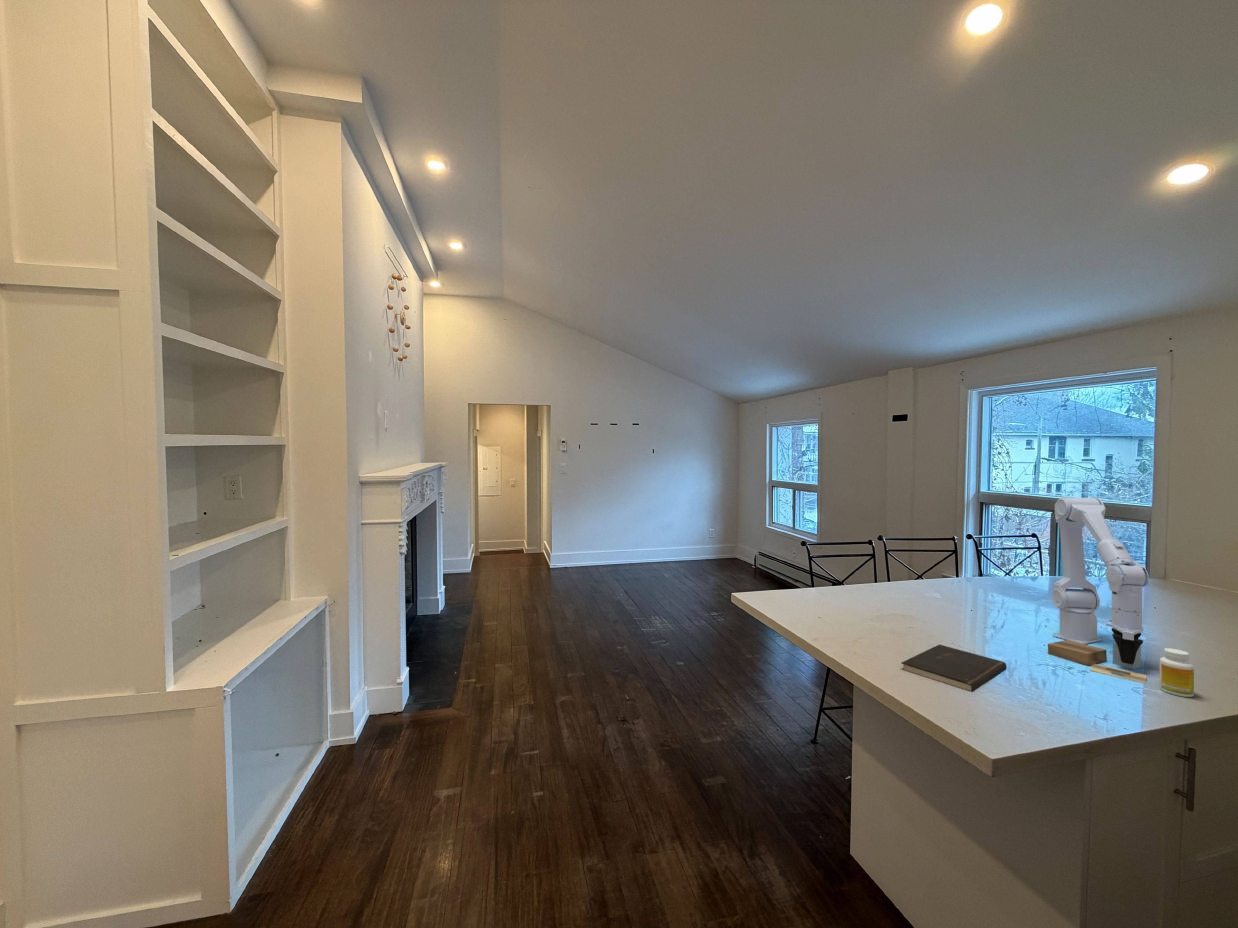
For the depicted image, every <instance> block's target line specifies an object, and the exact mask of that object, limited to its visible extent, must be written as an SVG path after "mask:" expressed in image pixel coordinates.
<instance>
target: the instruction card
mask: <svg viewBox="0 0 1238 928" xmlns="http://www.w3.org/2000/svg"><path fill="white" fill-rule="evenodd" d="M1089 672H1093V673H1096V674H1097V673H1098V674H1101V675H1104V676H1105V675H1107V676H1110V677H1115V678H1119V679H1124V680H1129V681H1133V682H1137V683H1141V684H1145V685H1146V684H1147V676H1148V675H1147V674H1143V673H1138V672H1136V671H1135V672H1134V671H1130V670H1126V669H1125V670H1124V669H1121V668H1116V667H1112V666H1107V665H1103V664H1099V663H1096V664H1091V665H1090V668H1089Z"/></svg>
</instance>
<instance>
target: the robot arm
mask: <svg viewBox="0 0 1238 928" xmlns="http://www.w3.org/2000/svg"><path fill="white" fill-rule="evenodd" d="M1054 515H1055V523H1057V524H1059V531H1060V532H1059V533H1060V534H1059V535H1060V546H1061V556H1062V557H1061V558H1062V562H1061V563H1062V572H1063V573H1062V574H1063V577H1062V578H1060V579H1059V580H1056V581H1055V582H1053V584H1052V585H1053V586H1052V587H1053V588H1052V592H1051V600H1052V602H1053V604H1054V605H1055V606H1056V608H1057V609H1059V633H1055V634H1052V637H1055V638H1058V639H1061V640H1069V641H1073V642H1077V643H1081V644H1085V645H1089V644H1092V643H1096V642H1102V639H1101V638H1098V618H1097V616H1096V614H1095V611H1096V610H1098V609H1099V607H1100V605H1101V600H1100V599H1101V598H1100V596H1099V593H1098V592H1097V591H1098V590H1097V587H1096V585H1094V584H1093V583H1091V582H1090V581H1089V580H1087V576H1086V562H1085V550H1084V548H1085V547H1084V537H1083V536H1084V535H1083V528H1084V527H1086V528H1087V530H1088V531H1089V533H1090V534H1091V535H1092V537H1093V538H1094V539H1095V540H1096V542H1097V543H1098V544H1097V546H1096V548H1095V549H1096V551H1097V553H1098V555H1099V557H1100V558H1101V560H1102V562H1103V563H1104V565H1105V567H1106V571H1105V573H1104V574H1105V578H1106V580H1107V582H1108V589H1109V590H1110V591H1111V621H1105V626H1106V627H1111V631H1112V634H1111V635H1112V638H1113V640H1114V641H1115V642H1114V643H1117V646H1118V649H1119V654H1120V658H1121V661H1122V663H1127V664H1132V665H1133V663H1134V661H1135V657H1136V653H1137V651H1138V649H1139V647H1140V646H1141V647H1142V645H1143V643H1144V640H1143V639H1139V638H1140V637H1141V636H1142V633H1144V627H1143V588H1144V587H1146V586H1147V585H1148V584H1149V581H1150V577H1149V573H1148V571H1147V569H1146V567H1145V566H1143V565H1142V564H1140V563H1138V561H1134V559H1133V558H1132V557H1131V556H1132V555H1130V553H1129V551H1128V550H1127V548H1126V547H1125V545H1124V544H1123V543H1122V541H1119V540H1116V539H1115V538H1114V536H1113V534H1112V532H1111V530H1110V527H1109V525H1108V524H1107V521H1106V519H1105V515H1106V506H1105V504H1104V501H1102V499H1101V498H1100V497H1066V496H1060V497H1059V498H1058V499H1057V501H1056V502H1055V504H1054Z"/></svg>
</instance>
